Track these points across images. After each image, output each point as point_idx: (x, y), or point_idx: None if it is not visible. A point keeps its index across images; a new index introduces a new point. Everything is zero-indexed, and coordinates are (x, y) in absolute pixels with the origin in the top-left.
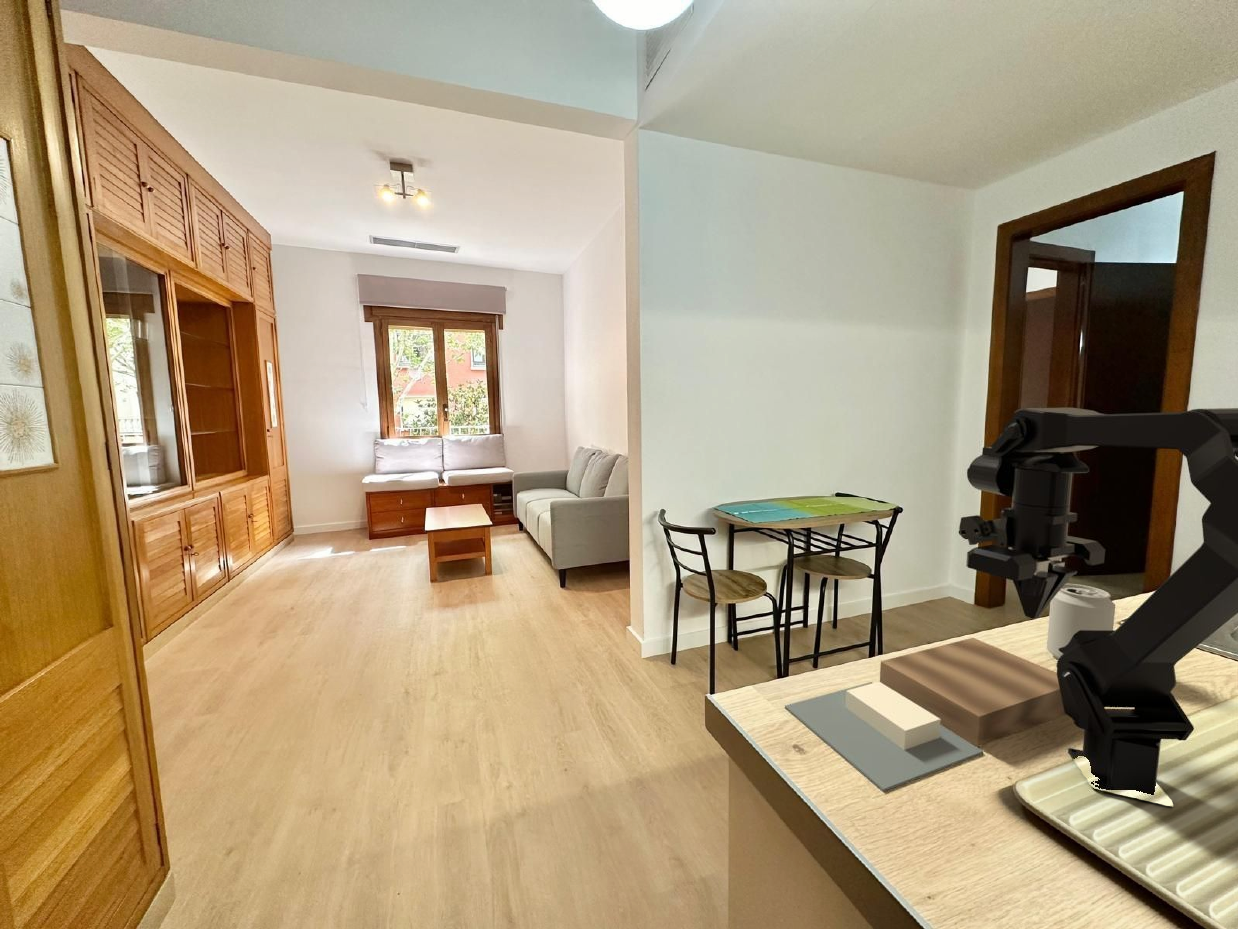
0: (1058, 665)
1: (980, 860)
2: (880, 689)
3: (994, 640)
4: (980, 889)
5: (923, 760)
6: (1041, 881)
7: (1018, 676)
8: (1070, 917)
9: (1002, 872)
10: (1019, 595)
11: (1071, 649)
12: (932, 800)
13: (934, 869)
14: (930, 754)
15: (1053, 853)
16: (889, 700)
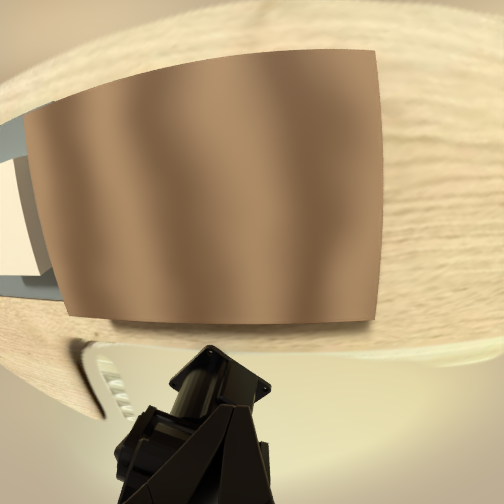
0: (122, 453)
1: (28, 361)
2: (4, 182)
3: (499, 41)
4: (21, 368)
5: (26, 284)
6: (54, 385)
7: (264, 259)
8: (56, 399)
9: (36, 371)
10: (156, 476)
11: (120, 494)
12: (18, 317)
13: (4, 349)
14: (36, 280)
15: (75, 384)
16: (3, 214)
